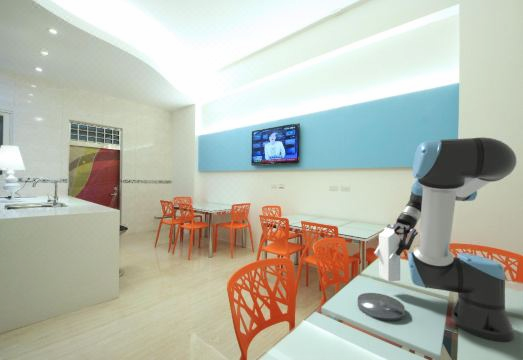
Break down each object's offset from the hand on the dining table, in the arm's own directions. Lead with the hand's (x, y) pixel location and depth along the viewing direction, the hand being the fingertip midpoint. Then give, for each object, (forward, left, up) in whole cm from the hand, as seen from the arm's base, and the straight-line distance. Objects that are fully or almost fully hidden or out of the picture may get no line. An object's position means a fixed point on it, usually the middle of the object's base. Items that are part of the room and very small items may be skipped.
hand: (383, 257), depth 103 cm
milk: (0, -3, -10) cm, 10 cm away
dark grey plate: (-8, +12, -16) cm, 21 cm away
